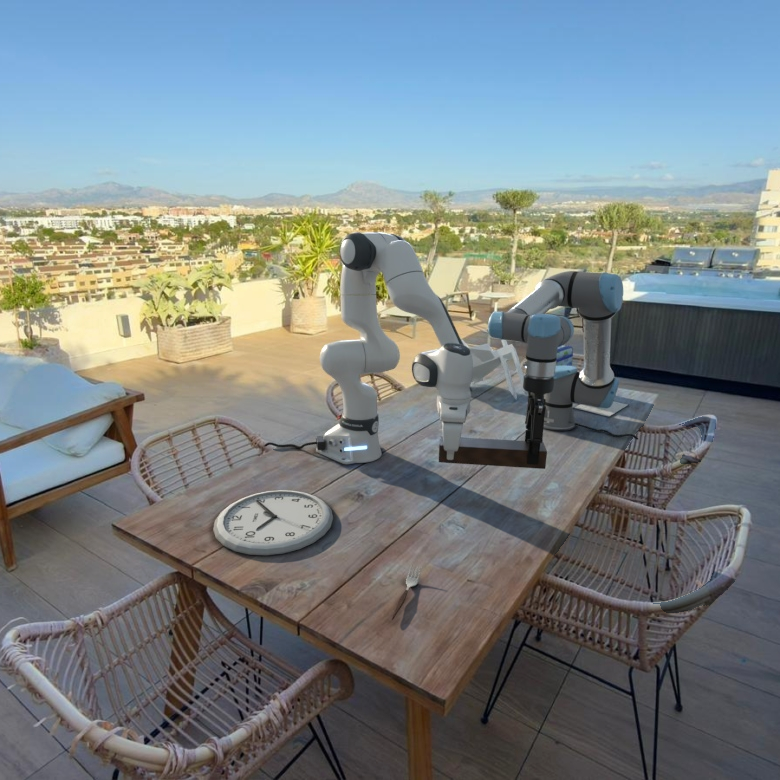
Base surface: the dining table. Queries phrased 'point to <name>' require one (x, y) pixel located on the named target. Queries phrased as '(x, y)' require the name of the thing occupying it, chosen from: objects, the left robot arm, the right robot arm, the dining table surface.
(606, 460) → the dining table surface
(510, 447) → the walnut beam
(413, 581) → the fork
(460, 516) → the dining table surface
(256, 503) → the wall clock
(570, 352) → the lunch box
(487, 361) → the white plastic object
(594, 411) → the invitation card
